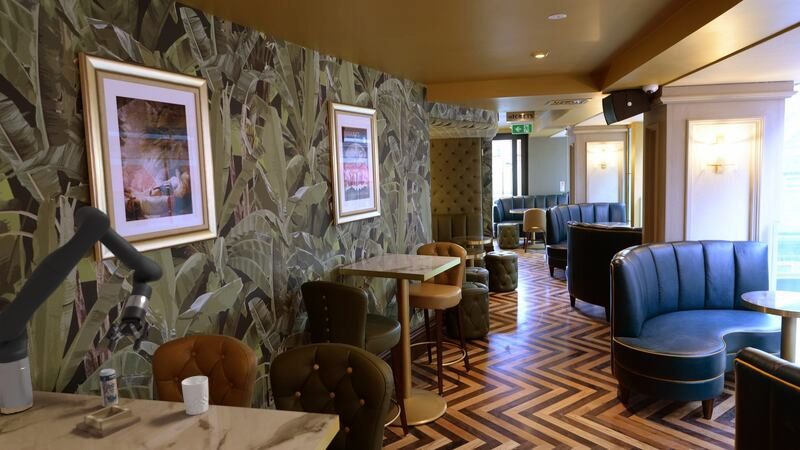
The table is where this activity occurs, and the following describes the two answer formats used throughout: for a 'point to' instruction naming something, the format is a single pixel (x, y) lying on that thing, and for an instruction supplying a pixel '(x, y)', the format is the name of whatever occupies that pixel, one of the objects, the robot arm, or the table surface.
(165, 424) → the table surface
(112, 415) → the caddy
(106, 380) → the beer can
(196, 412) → the white cup
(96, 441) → the table surface
